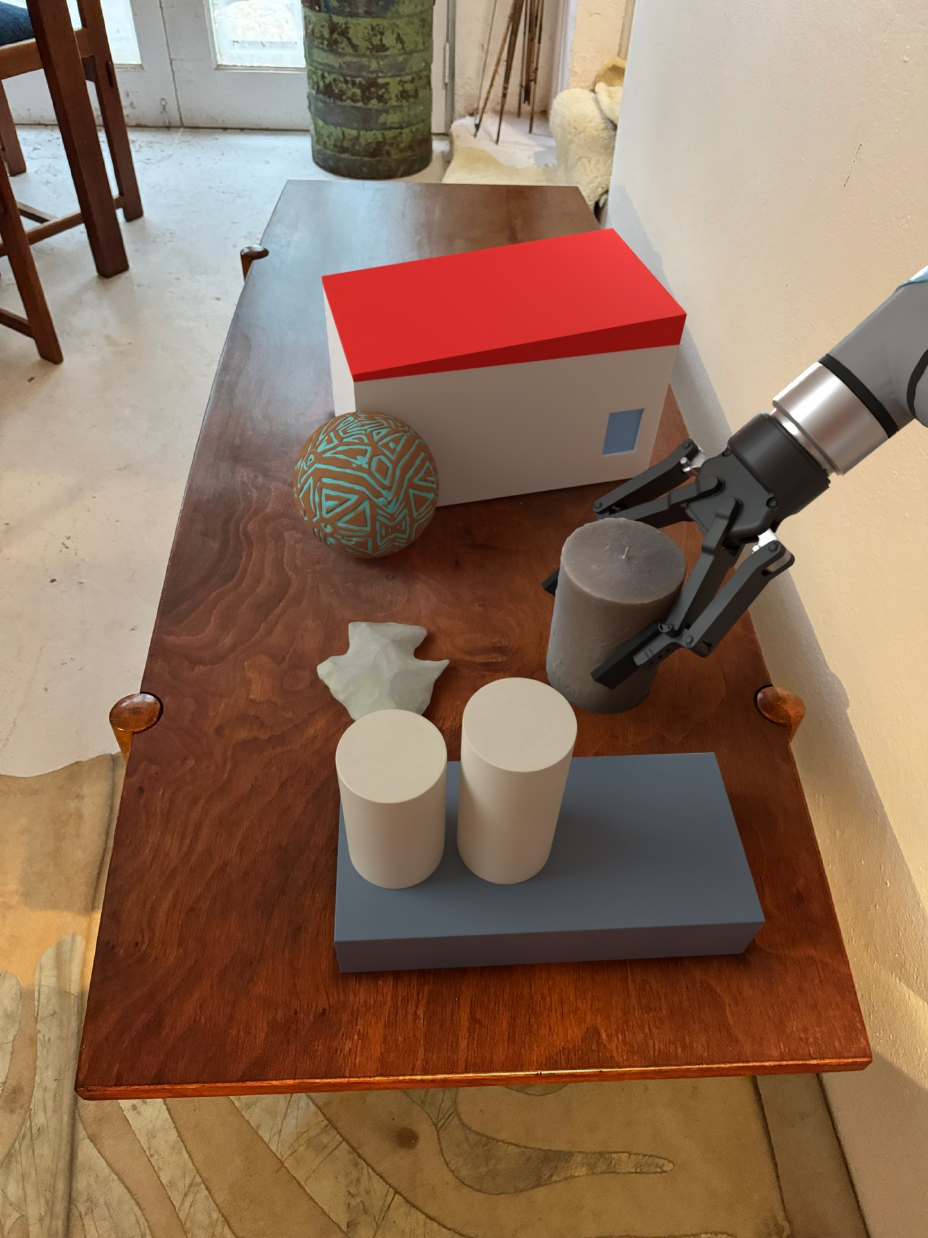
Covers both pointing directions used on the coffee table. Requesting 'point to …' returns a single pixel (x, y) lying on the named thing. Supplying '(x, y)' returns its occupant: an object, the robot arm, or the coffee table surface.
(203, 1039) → the coffee table surface
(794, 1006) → the coffee table surface
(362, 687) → the arrowhead
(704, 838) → the plinth
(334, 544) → the decorative sphere
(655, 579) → the pillar candle
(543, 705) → the tall ivory candle
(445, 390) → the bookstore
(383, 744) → the short ivory candle
